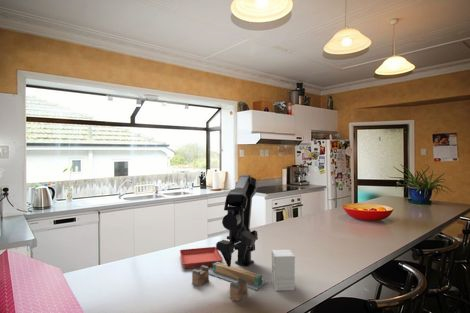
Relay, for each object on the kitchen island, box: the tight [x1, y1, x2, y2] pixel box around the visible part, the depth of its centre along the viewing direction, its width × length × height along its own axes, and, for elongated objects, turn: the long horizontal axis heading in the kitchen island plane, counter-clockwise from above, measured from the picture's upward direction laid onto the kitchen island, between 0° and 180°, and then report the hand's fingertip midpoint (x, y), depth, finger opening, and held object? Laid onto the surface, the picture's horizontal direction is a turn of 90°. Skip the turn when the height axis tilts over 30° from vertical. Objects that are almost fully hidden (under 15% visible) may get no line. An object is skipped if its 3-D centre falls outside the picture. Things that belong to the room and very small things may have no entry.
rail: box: [212, 262, 263, 286], centre depth 109 cm, size 3×22×3 cm, turn 54°
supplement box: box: [271, 249, 296, 292], centre depth 103 cm, size 7×7×13 cm
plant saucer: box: [179, 246, 224, 269], centre depth 127 cm, size 18×18×3 cm
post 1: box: [191, 265, 210, 287], centre depth 106 cm, size 6×3×5 cm, turn 144°
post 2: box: [229, 277, 248, 302], centre depth 95 cm, size 6×3×5 cm, turn 144°
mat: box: [209, 269, 268, 291], centre depth 109 cm, size 8×24×1 cm, turn 54°
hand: (236, 262), depth 109 cm, fingers open, 9 cm apart
